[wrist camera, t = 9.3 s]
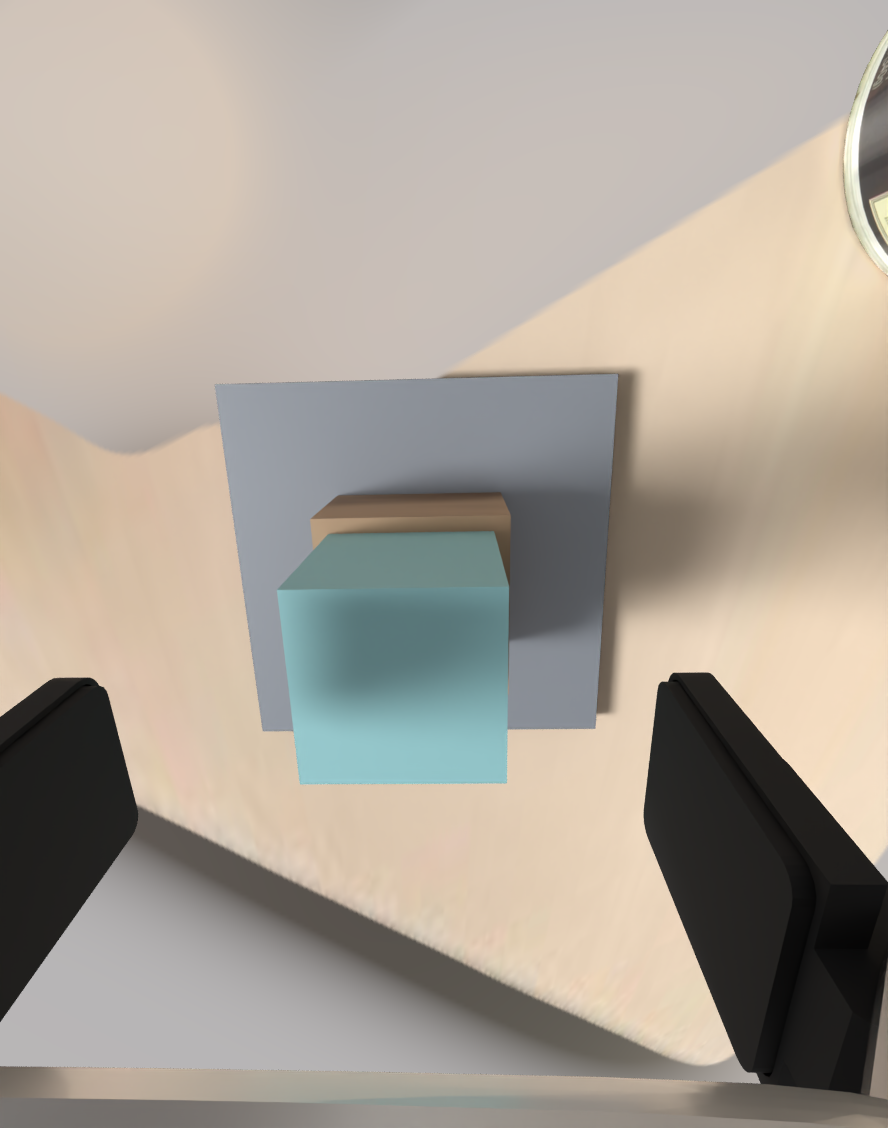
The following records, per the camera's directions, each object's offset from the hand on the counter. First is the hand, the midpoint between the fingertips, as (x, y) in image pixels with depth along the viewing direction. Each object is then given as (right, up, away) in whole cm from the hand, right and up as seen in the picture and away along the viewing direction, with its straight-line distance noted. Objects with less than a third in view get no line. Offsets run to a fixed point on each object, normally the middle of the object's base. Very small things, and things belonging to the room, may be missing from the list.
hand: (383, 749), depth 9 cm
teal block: (0, +2, +8) cm, 8 cm away
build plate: (0, +3, +13) cm, 13 cm away
